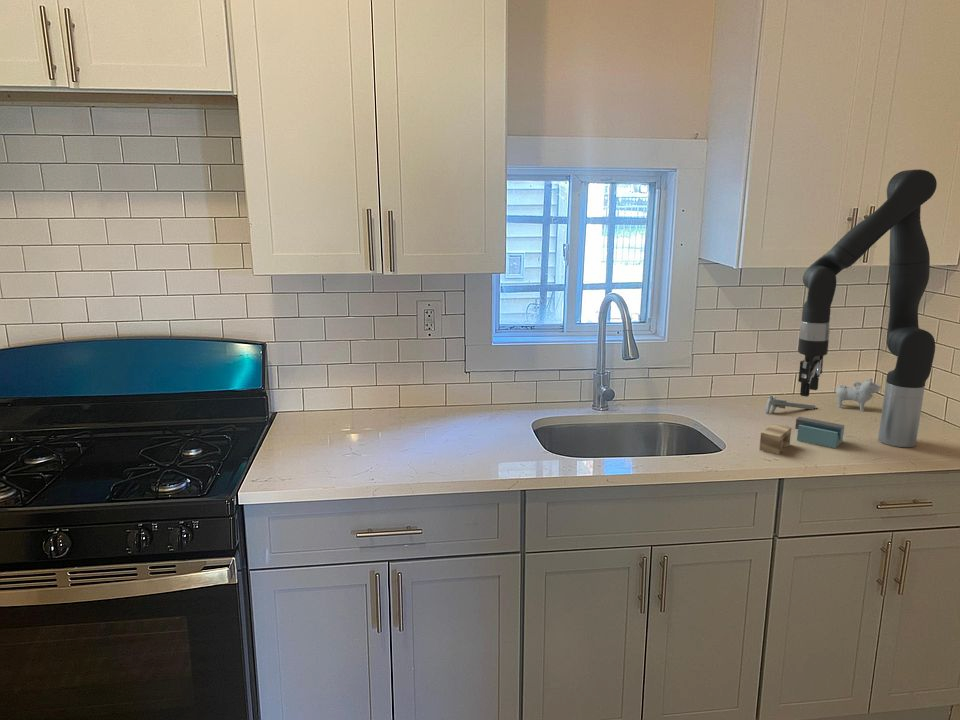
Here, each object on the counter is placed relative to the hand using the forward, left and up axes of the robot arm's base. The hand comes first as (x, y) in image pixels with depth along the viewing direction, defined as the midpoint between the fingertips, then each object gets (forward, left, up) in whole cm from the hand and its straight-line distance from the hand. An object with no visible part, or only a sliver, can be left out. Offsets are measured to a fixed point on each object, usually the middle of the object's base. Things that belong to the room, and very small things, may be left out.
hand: (809, 392), depth 191 cm
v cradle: (0, +4, -14) cm, 14 cm away
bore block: (+14, -4, -14) cm, 20 cm away
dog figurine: (-42, +4, -14) cm, 44 cm away
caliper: (-25, -11, -14) cm, 31 cm away
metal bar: (0, +4, -11) cm, 12 cm away
